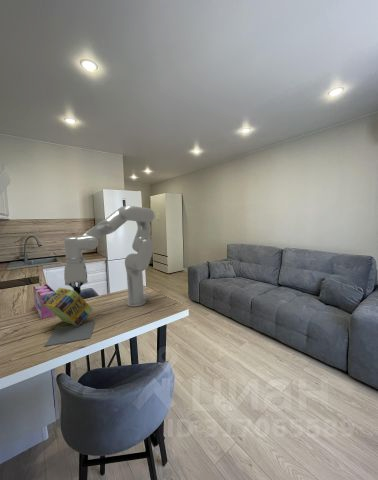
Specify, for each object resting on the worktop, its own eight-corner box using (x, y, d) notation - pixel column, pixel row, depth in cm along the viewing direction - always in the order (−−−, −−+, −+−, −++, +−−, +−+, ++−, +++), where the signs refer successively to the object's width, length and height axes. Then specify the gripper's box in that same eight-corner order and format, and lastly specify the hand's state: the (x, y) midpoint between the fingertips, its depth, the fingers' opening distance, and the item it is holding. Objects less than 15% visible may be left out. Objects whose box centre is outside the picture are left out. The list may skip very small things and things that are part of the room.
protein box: (79, 327, 105) (58, 308, 96) (62, 321, 113) (41, 303, 104) (93, 309, 112) (75, 290, 103) (77, 304, 120) (58, 287, 111)
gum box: (34, 307, 133) (31, 286, 131) (49, 303, 138) (46, 283, 137) (41, 319, 116) (39, 295, 114) (58, 314, 121) (56, 291, 120)
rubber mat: (95, 322, 110) (95, 321, 110) (90, 338, 95) (90, 337, 95) (56, 328, 105) (56, 327, 105) (44, 346, 90) (44, 345, 90)
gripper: (91, 258, 115) (93, 290, 117) (60, 260, 111) (63, 294, 113) (89, 260, 108) (91, 295, 110) (55, 263, 104) (59, 299, 105)
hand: (77, 294), depth 111 cm, fingers closed
